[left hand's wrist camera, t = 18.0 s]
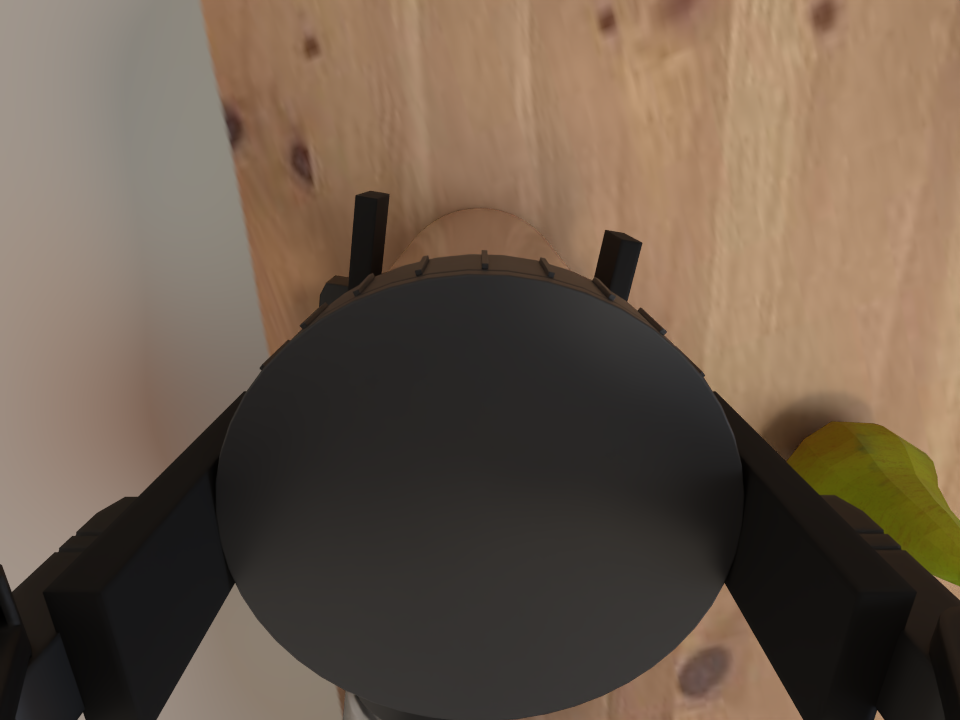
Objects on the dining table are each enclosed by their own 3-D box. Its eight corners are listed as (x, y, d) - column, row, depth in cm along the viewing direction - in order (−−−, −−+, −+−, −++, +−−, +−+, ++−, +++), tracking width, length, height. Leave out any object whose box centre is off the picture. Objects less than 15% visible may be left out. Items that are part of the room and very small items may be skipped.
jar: (418, 185, 27) (301, 240, 9) (587, 236, 27) (776, 375, 10) (379, 349, 29) (232, 628, 12) (533, 390, 30) (607, 708, 13)
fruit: (774, 512, 33) (929, 700, 21) (755, 423, 31) (915, 578, 19) (886, 480, 32) (1107, 656, 21) (873, 386, 30) (1111, 525, 19)
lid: (213, 582, 13) (168, 653, 11) (318, 172, 10) (280, 175, 8) (592, 688, 14) (609, 768, 13) (793, 350, 11) (856, 389, 9)
